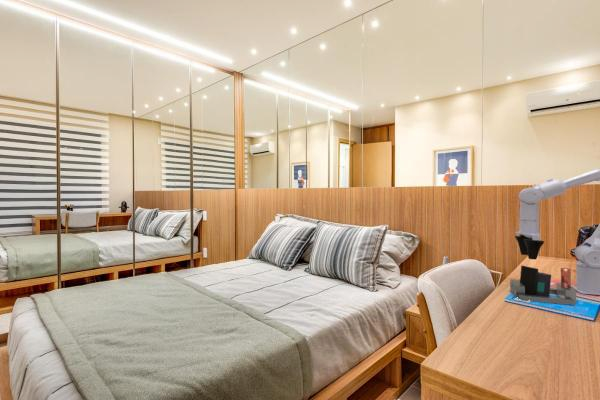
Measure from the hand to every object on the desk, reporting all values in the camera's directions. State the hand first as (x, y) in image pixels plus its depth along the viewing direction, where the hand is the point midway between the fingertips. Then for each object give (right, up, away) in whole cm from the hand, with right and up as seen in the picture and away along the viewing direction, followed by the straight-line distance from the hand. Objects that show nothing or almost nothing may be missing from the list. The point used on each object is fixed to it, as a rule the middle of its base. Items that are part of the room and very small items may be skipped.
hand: (528, 256), depth 112 cm
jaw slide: (+1, -11, -15) cm, 18 cm away
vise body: (-5, -11, -12) cm, 17 cm away
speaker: (-6, -12, -11) cm, 17 cm away
